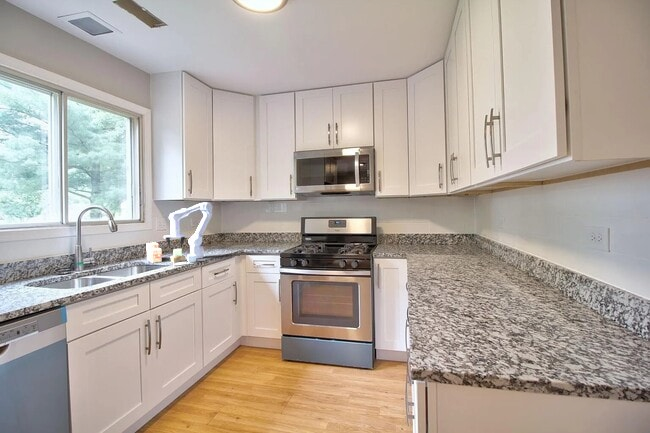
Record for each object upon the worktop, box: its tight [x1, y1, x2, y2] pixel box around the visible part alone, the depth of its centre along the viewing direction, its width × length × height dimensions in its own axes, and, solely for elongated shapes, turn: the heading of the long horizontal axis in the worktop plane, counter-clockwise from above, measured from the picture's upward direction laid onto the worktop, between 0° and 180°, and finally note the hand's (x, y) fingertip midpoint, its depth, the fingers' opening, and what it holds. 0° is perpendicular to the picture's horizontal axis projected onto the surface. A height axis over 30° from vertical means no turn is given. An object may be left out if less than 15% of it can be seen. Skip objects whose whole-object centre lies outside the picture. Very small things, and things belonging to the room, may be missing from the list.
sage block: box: [173, 248, 183, 257], centre depth 214 cm, size 5×5×5 cm
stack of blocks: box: [146, 242, 163, 264], centre depth 218 cm, size 21×6×12 cm, turn 40°
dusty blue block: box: [186, 254, 197, 263], centre depth 211 cm, size 5×5×5 cm
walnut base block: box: [170, 254, 187, 264], centre depth 214 cm, size 8×8×4 cm
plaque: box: [172, 261, 190, 267], centre depth 201 cm, size 9×9×1 cm
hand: (175, 247), depth 216 cm, fingers open, 7 cm apart
